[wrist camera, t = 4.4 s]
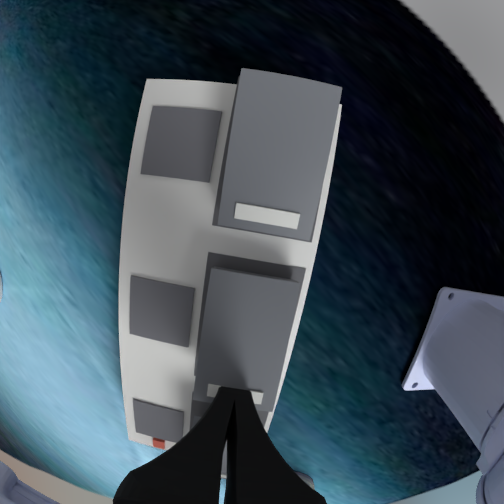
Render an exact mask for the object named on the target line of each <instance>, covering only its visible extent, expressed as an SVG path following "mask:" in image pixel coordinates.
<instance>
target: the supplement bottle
mask: <svg viewBox="0 0 504 504" xmlns="http://www.w3.org/2000/svg"><path fill="white" fill-rule="evenodd" d="M2 295H3V288H2V278H1V274H0V302H1V299H2Z"/></svg>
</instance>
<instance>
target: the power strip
mask: <svg viewBox="0 0 504 504" xmlns="http://www.w3.org/2000/svg"><path fill="white" fill-rule="evenodd" d="M239 80H240V76H239V77H238V82H237V84H228V83H219V82H208V81H194V80H174V79H147V81H146V84H145V88H144V93H143V97H142V101H141V105H140V110H139V115H138V119H137V124H136V129H135V135H134V140H133V146H132V151H131V157H130V164H129V170H128V177H127V185H126V193H125V201H124V210H123V221H122V233H121V247H120V265H119V346H120V364H121V378H122V389H123V399H124V408H125V416H126V423H127V430H128V437H129V440H131V441H135V442H138V443H141V444H145V445H148V446H152V447H155V448H159V449H163V450H168V449H170V448H171V447H172V446H174V445H175V444H176V443H177V442H178V441H180V440H181V439H182V438H183V437H184V436H185V435H186V434H187V433H188V432H189V431H190V430H191V428H192V423H193V419H194V416H199V417H202V416H203V415H204V413H205V412H206V410H207V409H208V408H209V406H210V405H211V403H207V402H202V401H197V400H193V393H194V385H195V377H196V369H197V361H198V354H199V346H200V339H201V332H202V325H203V318H204V312H205V305H206V298H207V292H208V285H209V279H210V273H211V268H213V267H214V266H215V267H221V268H227V269H233V270H238V271H244V272H250V273H256V274H262V275H268V276H274V277H280V278H286V279H292V280H296V281H298V282H299V283H300V287H299V292H298V298H297V303H296V308H295V313H294V318H293V323H292V328H291V333H290V338H289V342H288V347H287V352H286V356H285V361H284V365H283V370H282V374H281V379H280V383H279V387H278V391H277V396H276V400H275V404H274V408H273V412H267V411H259V410H257V413H258V415H259V418H260V420H261V422H262V424H263V427H264V429H265V431H266V433H267V432H268V429H269V426H270V423H271V420H272V417H273V414H274V410H275V407H276V404H277V401H278V397H279V394H280V391H281V387H282V384H283V381H284V377H285V374H286V370H287V367H288V363H289V360H290V356H291V352H292V349H293V345H294V341H295V338H296V334H297V330H298V326H299V322H300V318H301V314H302V310H303V306H304V302H305V298H306V294H307V290H308V286H309V282H310V277H311V273H312V268H313V264H314V260H315V255H316V250H317V246H318V241H319V236H320V231H321V226H322V222H323V216H324V211H325V206H326V201H327V196H328V190H329V185H330V179H331V173H332V167H333V161H334V155H335V149H336V143H337V136H338V129H339V122H340V115H341V108H342V105H341V104H339V108H338V114H337V119H336V124H335V129H334V134H333V139H332V144H331V149H330V154H329V159H328V163H327V168H326V172H325V177H324V182H323V186H322V190H321V195H320V199H319V203H318V208H317V212H316V216H315V220H314V224H313V228H312V232H311V236H310V240H309V241H308V240H303V239H297V238H292V237H286V236H280V235H275V234H269V233H263V232H258V231H252V230H246V229H240V228H234V227H228V226H222V225H218V218H219V210H220V203H221V195H222V188H223V181H224V174H225V167H226V160H227V153H228V147H229V140H230V134H231V128H232V121H233V115H234V109H235V103H236V97H237V91H238V86H239Z"/></svg>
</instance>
